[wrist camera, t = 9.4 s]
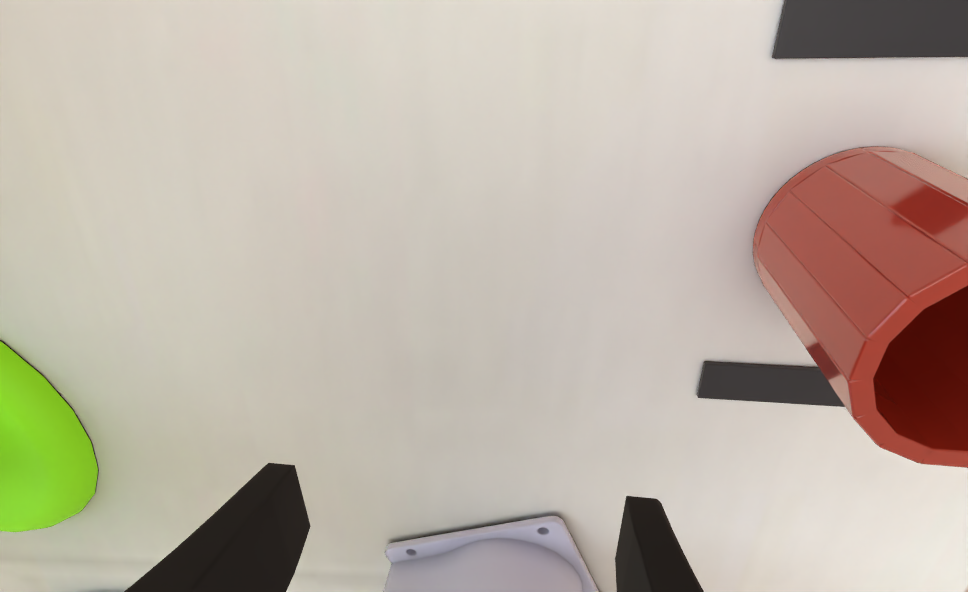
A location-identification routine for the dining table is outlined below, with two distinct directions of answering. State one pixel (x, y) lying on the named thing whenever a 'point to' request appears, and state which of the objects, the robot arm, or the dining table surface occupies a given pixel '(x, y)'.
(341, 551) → the dining table surface
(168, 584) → the robot arm
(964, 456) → the tumbler
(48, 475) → the wineglass
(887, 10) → the tape bay
